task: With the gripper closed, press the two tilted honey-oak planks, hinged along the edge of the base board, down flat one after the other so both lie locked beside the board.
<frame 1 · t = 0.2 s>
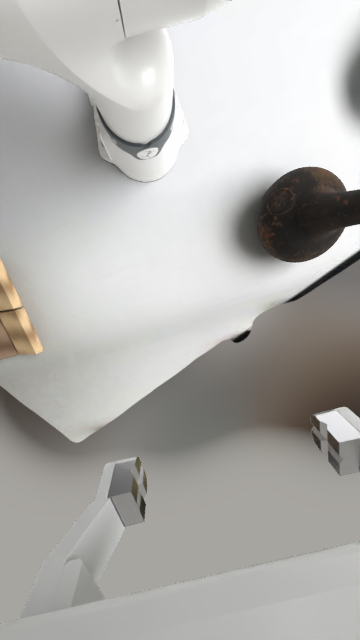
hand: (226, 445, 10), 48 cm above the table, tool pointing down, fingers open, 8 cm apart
dark brown round bottle: (284, 222, 53), on the table
plank b: (21, 332, 53), point 3 cm above the table, hinge at 30.0°
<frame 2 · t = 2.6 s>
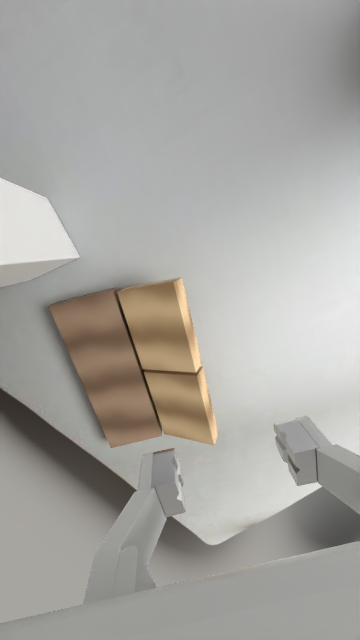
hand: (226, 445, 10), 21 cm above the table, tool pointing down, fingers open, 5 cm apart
base board: (114, 370, 32), on the table
milk carton: (39, 241, 27), on the table
plank a: (160, 328, 27), point 3 cm above the table, hinge at 30.0°
plank b: (181, 403, 31), point 3 cm above the table, hinge at 30.0°
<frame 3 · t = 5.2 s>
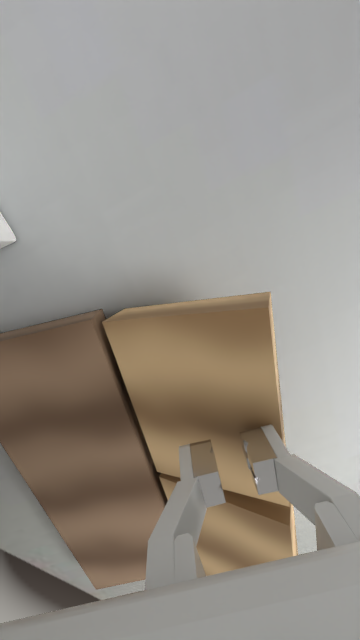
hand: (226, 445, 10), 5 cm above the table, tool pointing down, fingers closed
base board: (102, 461, 17), on the table
plank a: (201, 401, 12), point 3 cm above the table, hinge at 25.7°, touching gripper
plank b: (232, 534, 16), point 3 cm above the table, hinge at 30.0°
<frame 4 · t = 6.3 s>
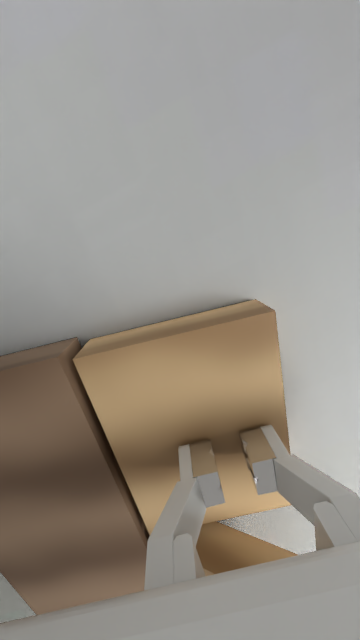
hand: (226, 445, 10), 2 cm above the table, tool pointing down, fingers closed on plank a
base board: (84, 515, 14), on the table
plank a: (198, 426, 11), point 1 cm above the table, hinge at 0.9°, touching gripper
plank b: (244, 608, 13), point 3 cm above the table, hinge at 30.0°
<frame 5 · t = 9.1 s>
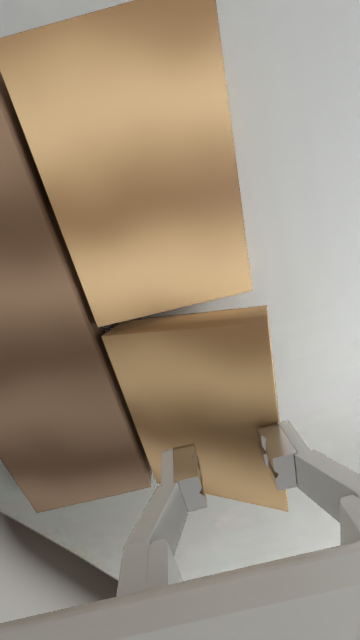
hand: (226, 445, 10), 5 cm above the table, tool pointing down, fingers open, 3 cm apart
base board: (36, 337, 13), on the table
plank a: (146, 192, 10), point 1 cm above the table, hinge at 0.7°
plank b: (201, 411, 12), point 3 cm above the table, hinge at 23.1°, touching gripper
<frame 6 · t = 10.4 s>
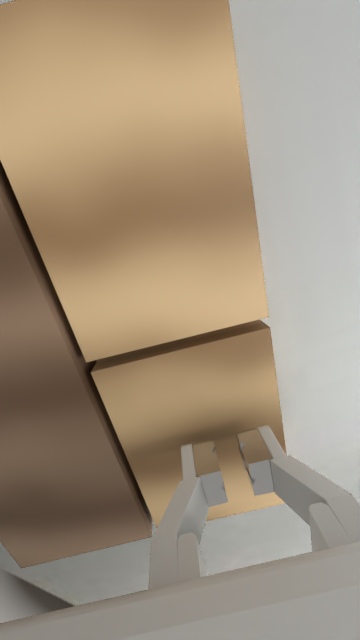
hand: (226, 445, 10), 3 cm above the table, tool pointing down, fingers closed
base board: (18, 369, 12), on the table
plank a: (141, 204, 9), point 1 cm above the table, hinge at 0.7°
plank b: (202, 430, 12), point 1 cm above the table, hinge at 0.5°
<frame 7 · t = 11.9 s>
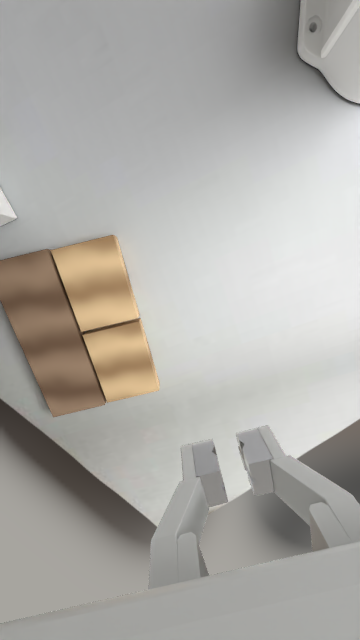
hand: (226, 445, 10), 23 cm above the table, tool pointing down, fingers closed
base board: (57, 336, 32), on the table
plank a: (98, 285, 30), point 1 cm above the table, hinge at 0.7°
plank b: (123, 361, 33), point 1 cm above the table, hinge at 0.4°
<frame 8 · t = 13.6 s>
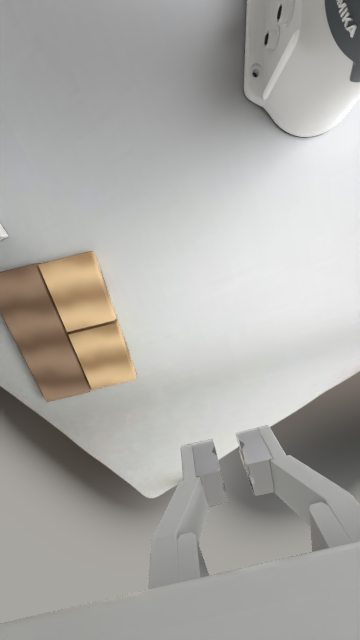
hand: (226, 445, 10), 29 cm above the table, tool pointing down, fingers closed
base board: (47, 335, 38), on the table
plank a: (80, 292, 35), point 1 cm above the table, hinge at 0.7°
plank b: (104, 355, 39), point 1 cm above the table, hinge at 0.4°
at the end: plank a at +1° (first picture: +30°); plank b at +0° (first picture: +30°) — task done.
